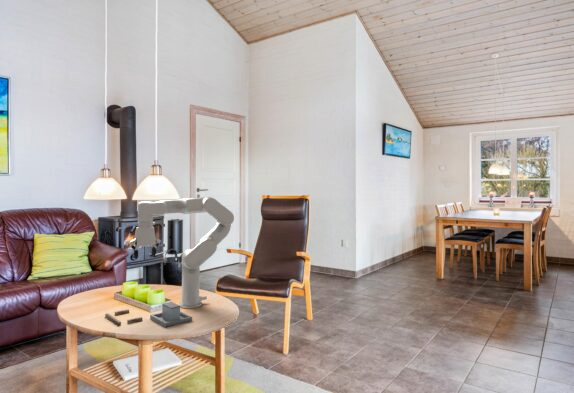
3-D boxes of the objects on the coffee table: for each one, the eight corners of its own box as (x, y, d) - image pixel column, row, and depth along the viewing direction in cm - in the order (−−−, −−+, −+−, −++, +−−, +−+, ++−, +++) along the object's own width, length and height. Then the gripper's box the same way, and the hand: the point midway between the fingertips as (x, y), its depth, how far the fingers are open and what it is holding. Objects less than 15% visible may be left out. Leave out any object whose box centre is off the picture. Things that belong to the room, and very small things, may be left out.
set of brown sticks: (128, 312, 213) (128, 309, 213) (142, 320, 200) (142, 317, 200) (105, 316, 205) (105, 313, 205) (118, 325, 192) (118, 322, 192)
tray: (176, 313, 212) (176, 309, 212) (192, 321, 201) (192, 317, 200) (150, 318, 203) (150, 314, 203) (165, 327, 191) (165, 323, 191)
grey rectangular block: (171, 315, 207) (171, 301, 206) (180, 319, 200) (180, 305, 200) (162, 317, 203) (162, 303, 203) (170, 322, 197) (170, 307, 196)
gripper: (157, 223, 227) (157, 253, 227) (126, 225, 215) (126, 257, 215) (163, 224, 221) (163, 255, 222) (132, 226, 209) (132, 259, 210)
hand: (145, 256), depth 218 cm, fingers open, 9 cm apart
